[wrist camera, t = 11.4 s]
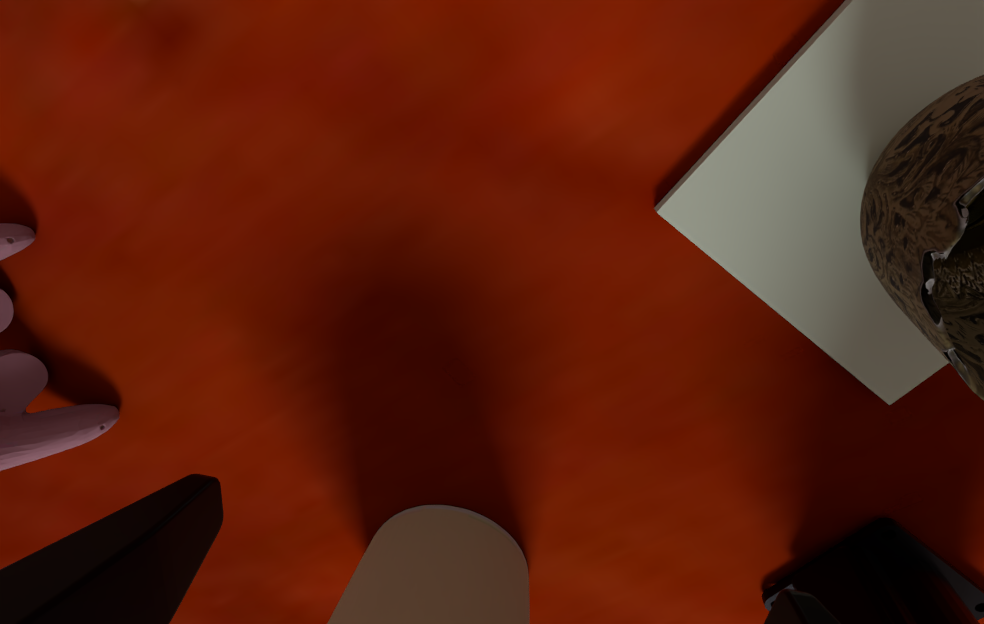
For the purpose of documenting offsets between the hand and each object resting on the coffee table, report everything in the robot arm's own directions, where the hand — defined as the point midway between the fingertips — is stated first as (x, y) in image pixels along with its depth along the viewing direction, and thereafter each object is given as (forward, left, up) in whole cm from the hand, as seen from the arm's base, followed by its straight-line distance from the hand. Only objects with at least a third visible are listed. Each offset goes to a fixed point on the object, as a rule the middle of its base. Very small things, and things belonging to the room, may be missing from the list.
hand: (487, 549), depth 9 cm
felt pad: (-7, -10, -12) cm, 17 cm away
